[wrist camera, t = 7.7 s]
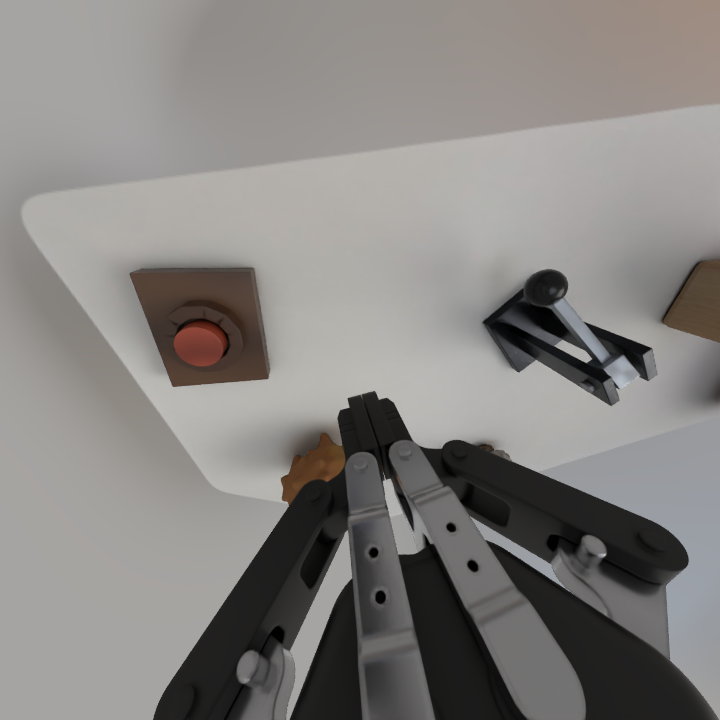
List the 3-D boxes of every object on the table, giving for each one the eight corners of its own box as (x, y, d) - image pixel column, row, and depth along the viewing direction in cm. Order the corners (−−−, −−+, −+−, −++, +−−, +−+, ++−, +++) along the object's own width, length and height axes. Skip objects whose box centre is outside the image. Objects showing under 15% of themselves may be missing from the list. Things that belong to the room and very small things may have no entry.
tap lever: (509, 289, 28) (527, 286, 24) (538, 264, 27) (561, 257, 24) (590, 385, 29) (619, 396, 26) (620, 364, 28) (654, 372, 25)
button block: (141, 268, 25) (116, 277, 21) (254, 267, 27) (247, 276, 23) (180, 376, 30) (165, 397, 27) (270, 369, 32) (267, 388, 29)
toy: (371, 440, 42) (390, 498, 34) (304, 477, 43) (306, 542, 35) (344, 406, 38) (358, 464, 29) (271, 448, 39) (263, 516, 30)
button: (175, 321, 24) (166, 328, 23) (222, 319, 25) (217, 326, 23) (187, 359, 26) (181, 368, 25) (230, 356, 27) (227, 365, 25)
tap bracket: (482, 322, 35) (574, 377, 24) (540, 274, 34) (671, 308, 22) (512, 368, 41) (600, 432, 29) (564, 329, 39) (679, 380, 27)
